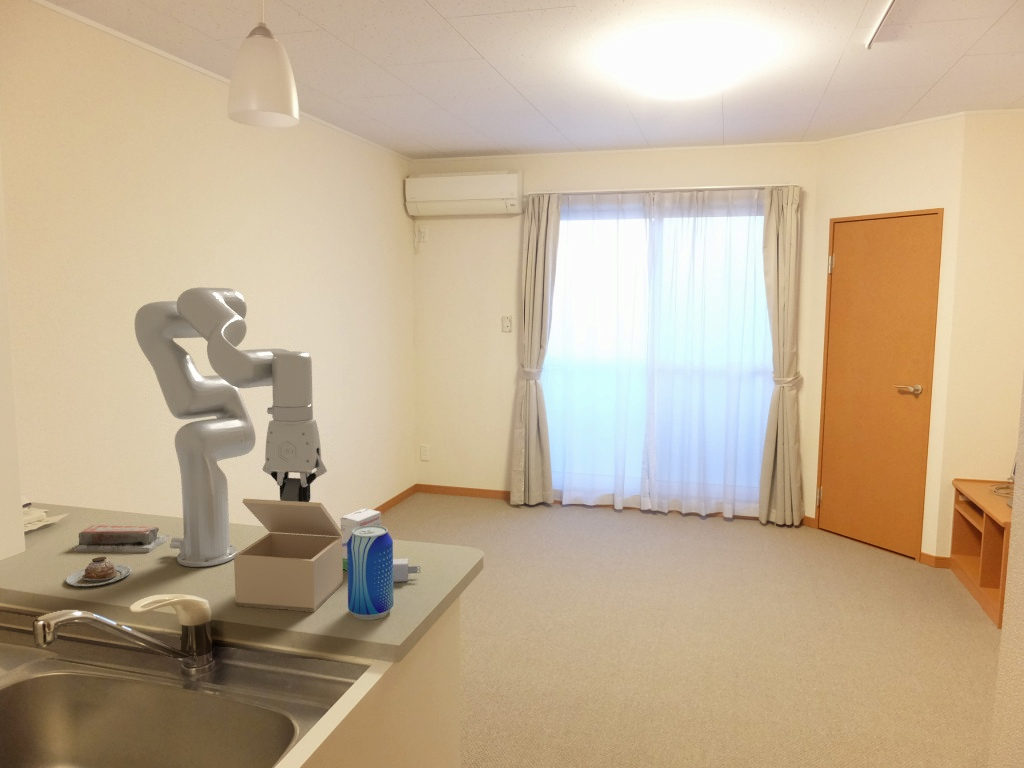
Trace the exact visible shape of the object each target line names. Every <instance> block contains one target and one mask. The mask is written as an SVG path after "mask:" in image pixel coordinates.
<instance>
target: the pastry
mask: <svg viewBox="0 0 1024 768" xmlns="http://www.w3.org/2000/svg"><path fill="white" fill-rule="evenodd" d="M118 573H119V576H118V577H116V576H117V575H118ZM131 573H132V568H131V567H130V566H128V565H123V564H114V563H113V562H112V561H107V556H98V557H95V558H92V559H91V561H90V563H89V564H88V565H87V566H86V568H83V569H80V570H77V571H75V572H73V573H71V574H70V575H68V576H67V577H66V579H65V582H66V584H68V585H70V586H71V587H74V588H78V587H95V586H103V585H107V584H112V583H115V582H116V581H119V580H121V579H124V578H125V577H127V576H129V574H131ZM115 577H116V578H115ZM113 578H114V579H113ZM80 579H82V580H84V581H86V582H92V583H91V584H89V583H88V584H87V583H86V584H84V583H79V582H78V581H79V580H80ZM111 579H112V580H111ZM95 582H98V583H95ZM99 582H100V583H99Z"/></svg>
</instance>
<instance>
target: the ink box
mask: <svg viewBox="0 0 1024 768" xmlns="http://www.w3.org/2000/svg"><path fill="white" fill-rule="evenodd" d="M365 525H380V526H382V511H378V510H374V509H369V508H361V509H359V510H355V511H353V512H351V513H347V514H345V515H342V517H341V518H340V529H341V531H342V532H343V536H342V559H343V569H345V571H348V570H347V542H348V540H349V539H350V537H351V535H352V530H353V529H355V528H357V527H360V526H365Z"/></svg>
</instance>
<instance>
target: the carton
mask: <svg viewBox="0 0 1024 768" xmlns="http://www.w3.org/2000/svg"><path fill="white" fill-rule="evenodd" d="M233 563H234V565H233V569H234V595H235V597H234V598H235V599H234V600H235V607H241V606H244V607H243V608H254V607H255V609H256V608H257V609H266V608H270V610H279V609H288V610H287V611H292V610H293V611H292V612H304V611H305V612H307V613H316V611H317V610H319V609H320V607H321V606H322V605H323V604H324V603H326V601H327V600H328V599H329V598H330V597H331V596H332V595H333V594H335V592H336V591H337V590H339V589H340V587H341V586H342V585H343V584H342V583H344V574H343V572H344V570H343V559H342V537H337V536H321V535H304V534H288V533H272V532H269V533H267V534H265V535H264V536H262V537H261V538H259V539H257V540H256V541H255V542H253V543H252V544H250V545H248V546H247V547H245V548H244V549H242V550H241V551H239V552H237V554H236V555H234V558H233ZM340 585H341V586H340ZM336 589H337V590H336ZM335 590H336V591H335ZM332 593H333V594H332ZM294 610H295V611H294Z"/></svg>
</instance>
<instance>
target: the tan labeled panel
mask: <svg viewBox="0 0 1024 768" xmlns="http://www.w3.org/2000/svg"><path fill="white" fill-rule="evenodd" d="M299 487H301V479H300V477H299V478H298V477H289V478H287V481H286V484H285V487H284V490H283V494H282V497H281V500H280V499H279V500H276V499H259V498H258V499H255V498H243V500H242V503H243V505H244V506H245V507H246V508H247V509H248V510H249V511H250V512H251V514H253V516H254V517H255V518H256V520H257V521H259V522H260V524H261V525H262V526H263V527H264V528H265V529H266V530H267V531H268V532H269V533H281V534H297V535H313V536H329V537H342V536H343V532H342V531H341V527H339V525H338V523H336V521H335V520H334V518H333V517H332V516H331V514H330V513H329V511H328V510H327V509H326V507H325V505H324V504H323V502H311V501H309V502H299Z"/></svg>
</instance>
